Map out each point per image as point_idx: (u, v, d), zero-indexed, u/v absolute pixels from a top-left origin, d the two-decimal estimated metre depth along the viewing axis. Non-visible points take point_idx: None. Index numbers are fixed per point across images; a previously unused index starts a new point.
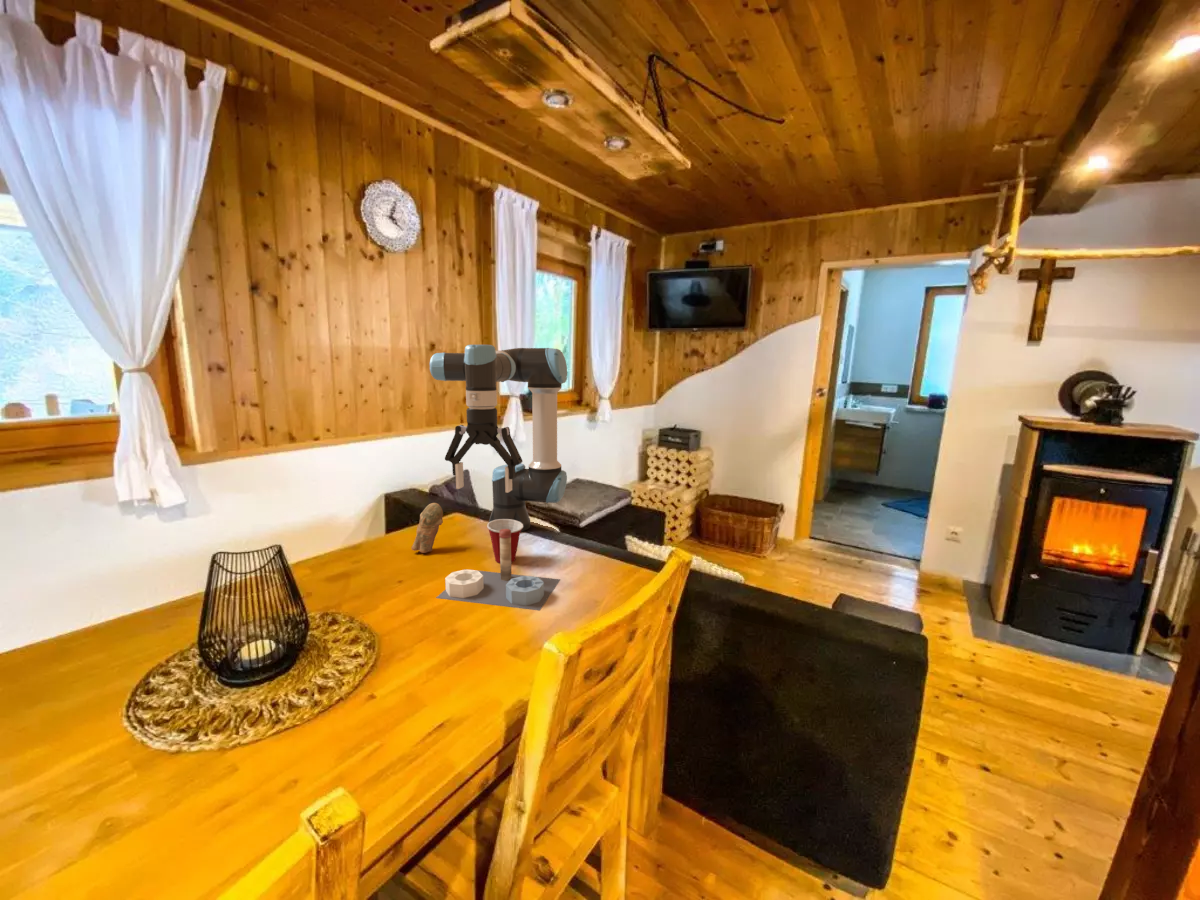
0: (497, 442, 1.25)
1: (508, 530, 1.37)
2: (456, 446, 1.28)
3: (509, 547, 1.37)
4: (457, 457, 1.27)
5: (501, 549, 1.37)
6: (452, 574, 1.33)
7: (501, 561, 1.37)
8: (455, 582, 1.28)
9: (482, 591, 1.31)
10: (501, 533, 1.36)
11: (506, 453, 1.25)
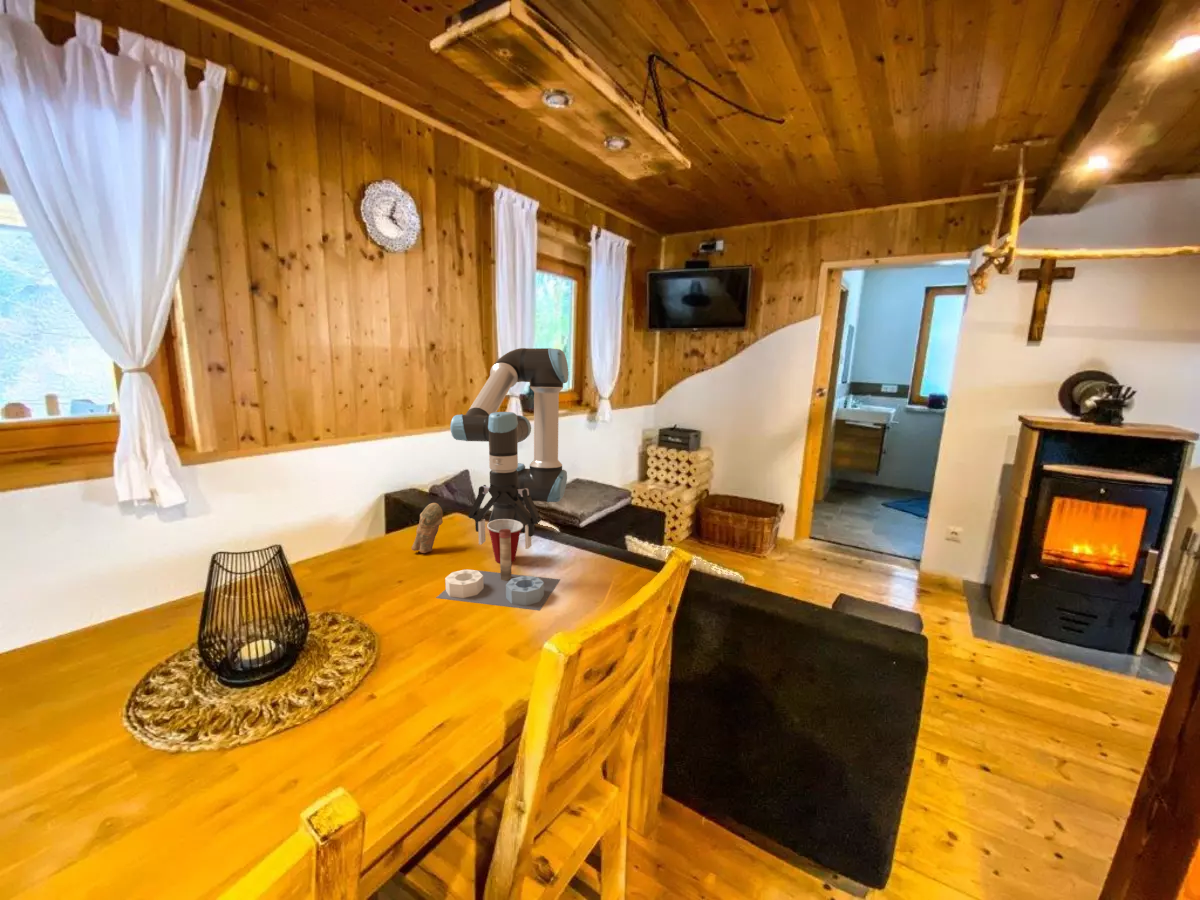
0: (518, 502, 1.34)
1: (508, 530, 1.37)
2: (479, 504, 1.37)
3: (509, 547, 1.37)
4: (480, 515, 1.36)
5: (501, 549, 1.37)
6: (452, 574, 1.33)
7: (501, 561, 1.37)
8: (455, 582, 1.28)
9: (482, 591, 1.31)
10: (501, 533, 1.36)
11: (526, 512, 1.34)
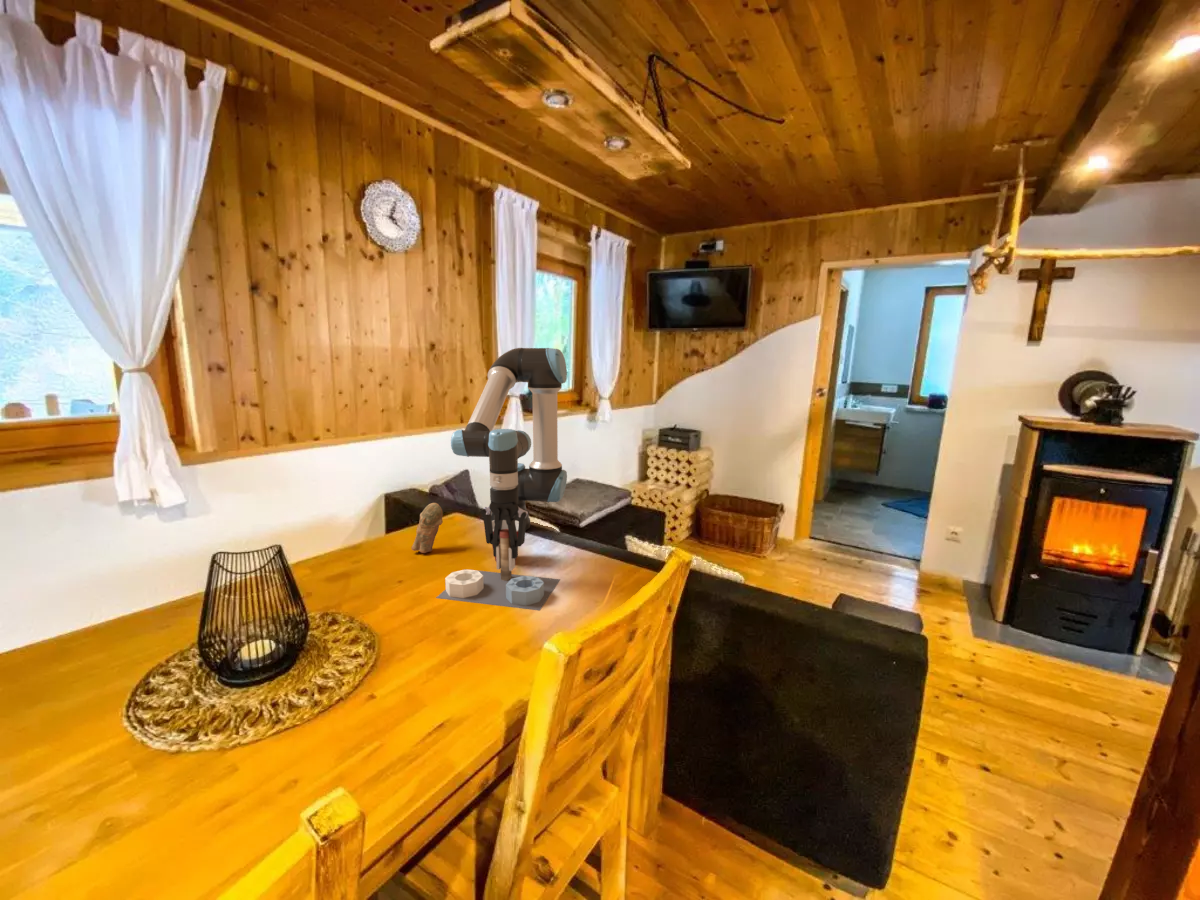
0: (513, 522, 1.36)
1: None
2: (490, 527, 1.38)
3: None
4: (495, 539, 1.37)
5: (501, 549, 1.37)
6: (452, 574, 1.33)
7: (501, 561, 1.37)
8: (455, 582, 1.28)
9: (482, 591, 1.31)
10: (501, 533, 1.36)
11: (515, 534, 1.37)
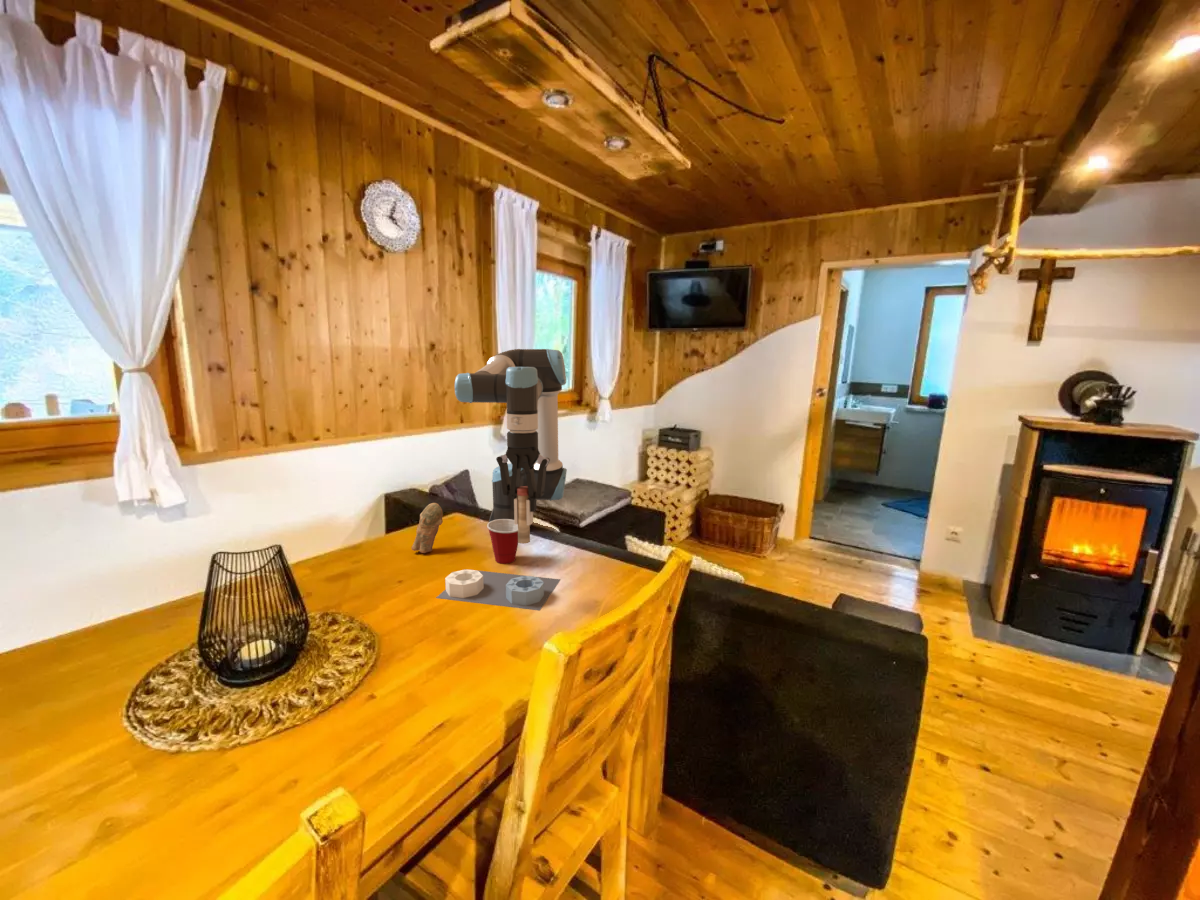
0: (531, 470, 1.22)
1: (527, 487, 1.24)
2: (507, 477, 1.24)
3: None
4: (513, 490, 1.23)
5: (519, 508, 1.23)
6: (452, 574, 1.33)
7: (519, 522, 1.24)
8: (455, 582, 1.28)
9: (482, 591, 1.31)
10: (519, 490, 1.22)
11: (533, 484, 1.23)
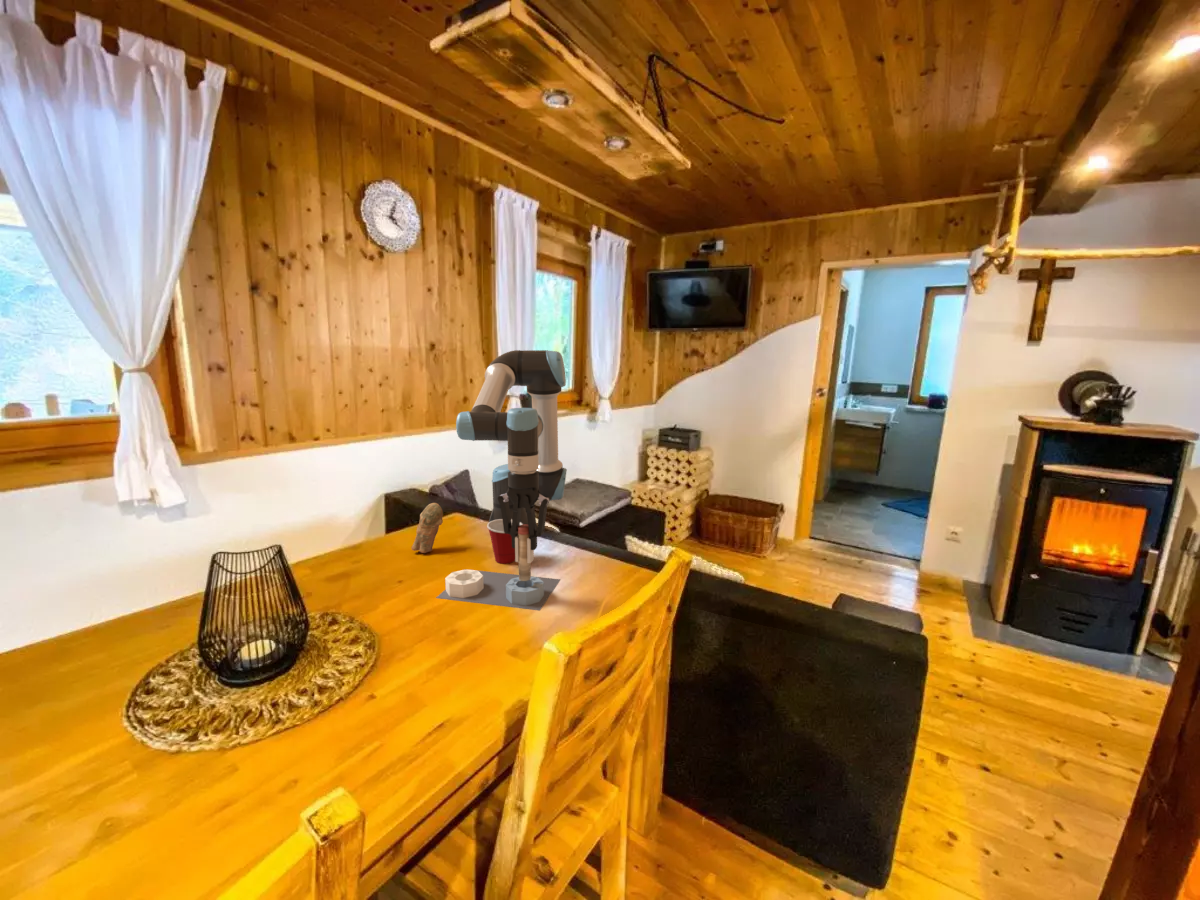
0: (532, 509, 1.24)
1: (527, 526, 1.26)
2: (508, 515, 1.26)
3: None
4: (514, 528, 1.25)
5: (520, 546, 1.25)
6: (452, 574, 1.33)
7: (520, 559, 1.26)
8: (455, 582, 1.28)
9: (482, 591, 1.31)
10: (520, 529, 1.24)
11: (534, 523, 1.25)
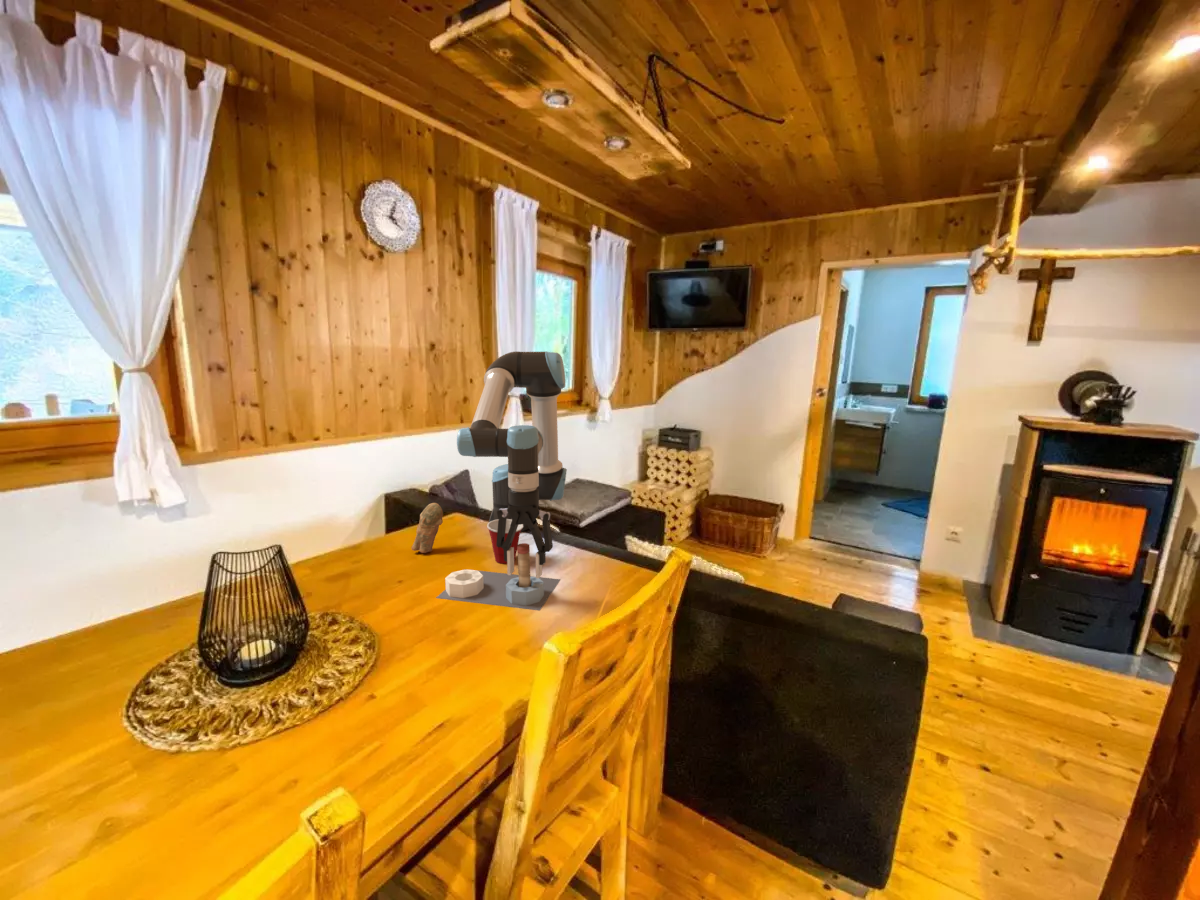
0: (535, 525, 1.25)
1: (526, 545, 1.27)
2: (503, 530, 1.27)
3: (528, 563, 1.26)
4: (507, 543, 1.26)
5: (519, 565, 1.26)
6: (452, 574, 1.33)
7: (520, 578, 1.27)
8: (455, 582, 1.28)
9: (482, 591, 1.31)
10: (519, 548, 1.25)
11: (540, 538, 1.25)
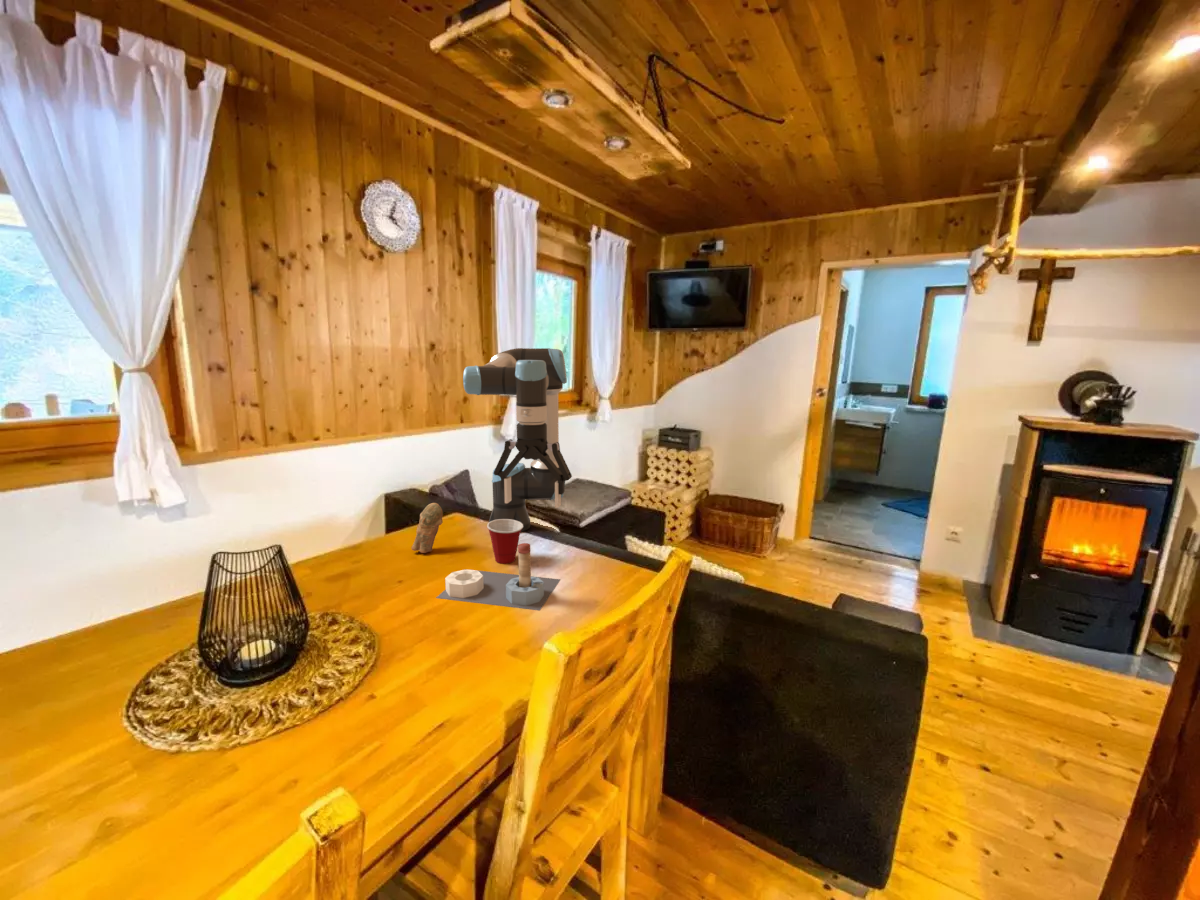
0: (547, 457, 1.25)
1: (527, 544, 1.27)
2: (505, 461, 1.28)
3: (529, 563, 1.26)
4: (506, 472, 1.27)
5: (520, 565, 1.26)
6: (452, 574, 1.33)
7: (520, 578, 1.27)
8: (455, 582, 1.28)
9: (482, 591, 1.31)
10: (520, 548, 1.25)
11: (556, 468, 1.25)
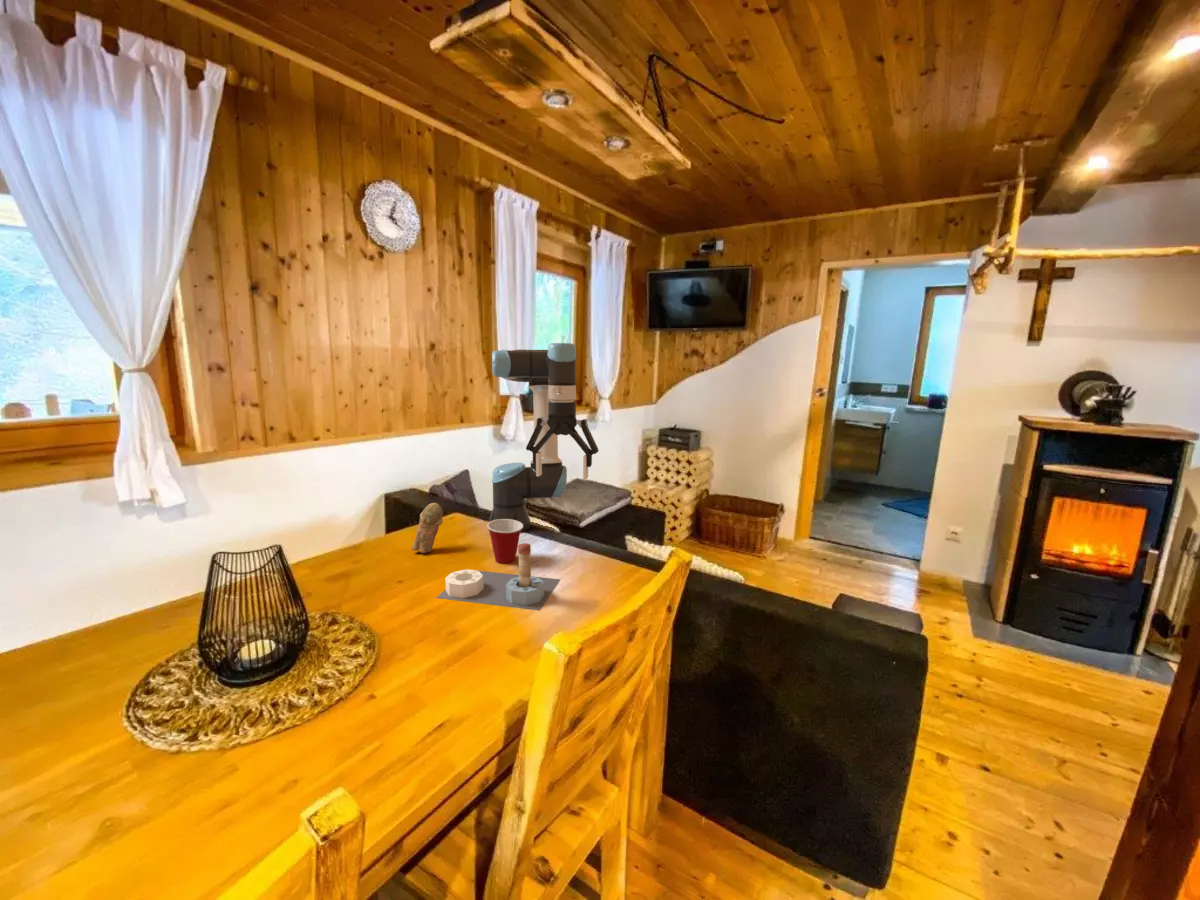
0: (576, 433, 1.36)
1: (527, 545, 1.27)
2: (536, 437, 1.39)
3: (529, 563, 1.26)
4: (538, 447, 1.38)
5: (520, 565, 1.26)
6: (452, 574, 1.33)
7: (520, 578, 1.27)
8: (455, 582, 1.28)
9: (482, 591, 1.31)
10: (520, 548, 1.25)
11: (584, 443, 1.36)
